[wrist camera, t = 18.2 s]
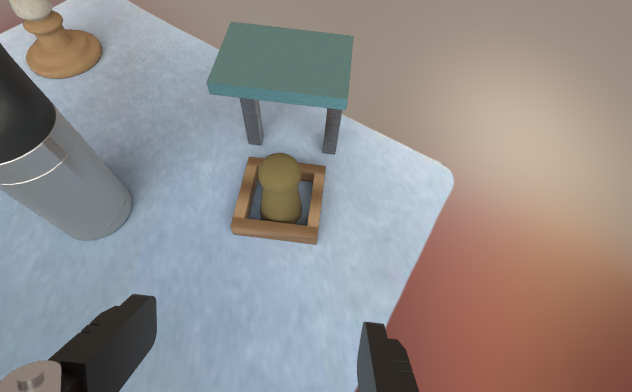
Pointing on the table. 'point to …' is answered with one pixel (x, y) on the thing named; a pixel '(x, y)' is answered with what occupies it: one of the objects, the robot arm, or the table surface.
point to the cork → (280, 188)
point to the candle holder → (55, 41)
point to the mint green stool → (284, 73)
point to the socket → (277, 229)
